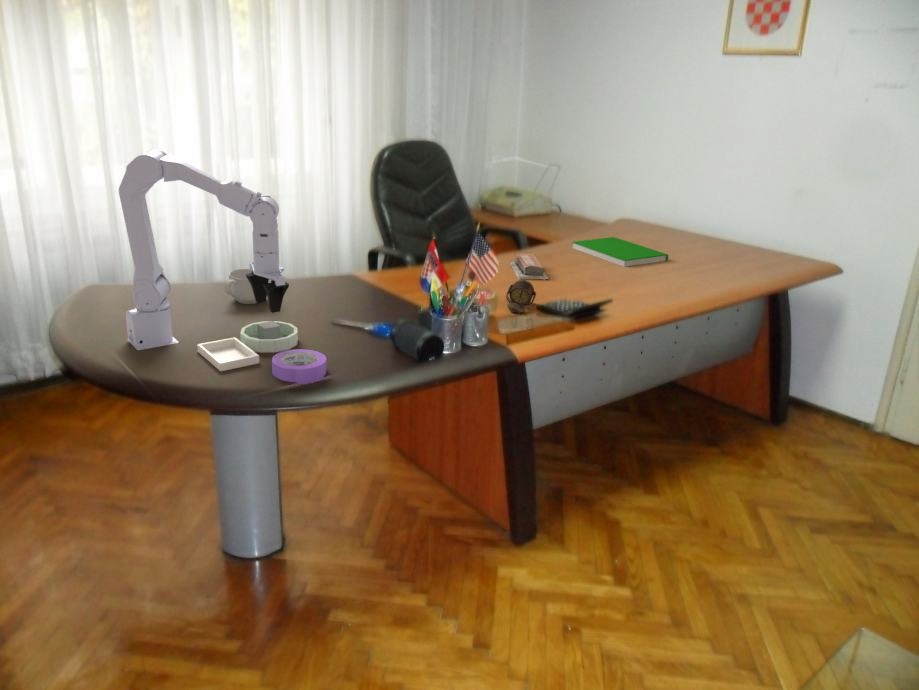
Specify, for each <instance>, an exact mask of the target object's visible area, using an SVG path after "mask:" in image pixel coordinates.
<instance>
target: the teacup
mask: <svg viewBox="0 0 919 690" xmlns="http://www.w3.org/2000/svg"><path fill="white" fill-rule="evenodd" d="M251 272H252V271H251V270H250V267H248V268H237V269H236V268H235V269H232V270H231V271H228V280H227V281H226V282H225V285H224V291H225V293H226V294H227V295H229V296H231V297H232V298H233V299H234V300H235V301H236V302H237V303H240V304H243V305H254V304H257V303H256V300H255V297H254V293H253V290H252V287H251V284H250V282H249V280H248V279H247V277H246V274H248V273H251ZM269 281H270V280H269ZM269 281H268V283H270V282H269Z"/></svg>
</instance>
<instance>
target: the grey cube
mask: <svg viewBox="0 0 919 690" xmlns="http://www.w3.org/2000/svg"><path fill="white" fill-rule="evenodd" d="M257 333H258V339H278V338H281V334H280V325H278V324H277V323H275V322H274V320H270V322H264V323H258V324H257Z"/></svg>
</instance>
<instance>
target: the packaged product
mask: <svg viewBox="0 0 919 690" xmlns="http://www.w3.org/2000/svg"><path fill="white" fill-rule="evenodd" d="M510 266H511V268H512V270H513V272H514V274H515V276H516V277H517V279H518V280H526V279H548V280H549V276H548V275H547V273H546V272H545V269H544V267H543V265H542V264H541V262H540V260H538V258H537V257H536V256H535V255H534V254H532V253H517V254H516V256H515V261H512V260H511V261H510Z"/></svg>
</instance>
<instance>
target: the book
mask: <svg viewBox="0 0 919 690" xmlns="http://www.w3.org/2000/svg"><path fill="white" fill-rule="evenodd" d="M572 249H573V250H577V251H579V252H582V253H585V254H587V255H590V256H594V257H596V258H600V259H602V260H605V261H607V262H609V263H613V264H616V265H619V266H621V267H623V268H624V267H631V266H638V265H639V266H640V265H646V264H651V263H658V262H660V263H661V262H667V261H669V254H668V253H665V252H661V251H659V250H655V249H653V248H650V247H645V246H643V245H640V244H637V243H634V242H631V241H627V240H624V239H623V238H618V237H615V236H612V237H604V238H603V237H601V238H593V239H584V240H577V241H576V240H574V241H572Z"/></svg>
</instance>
